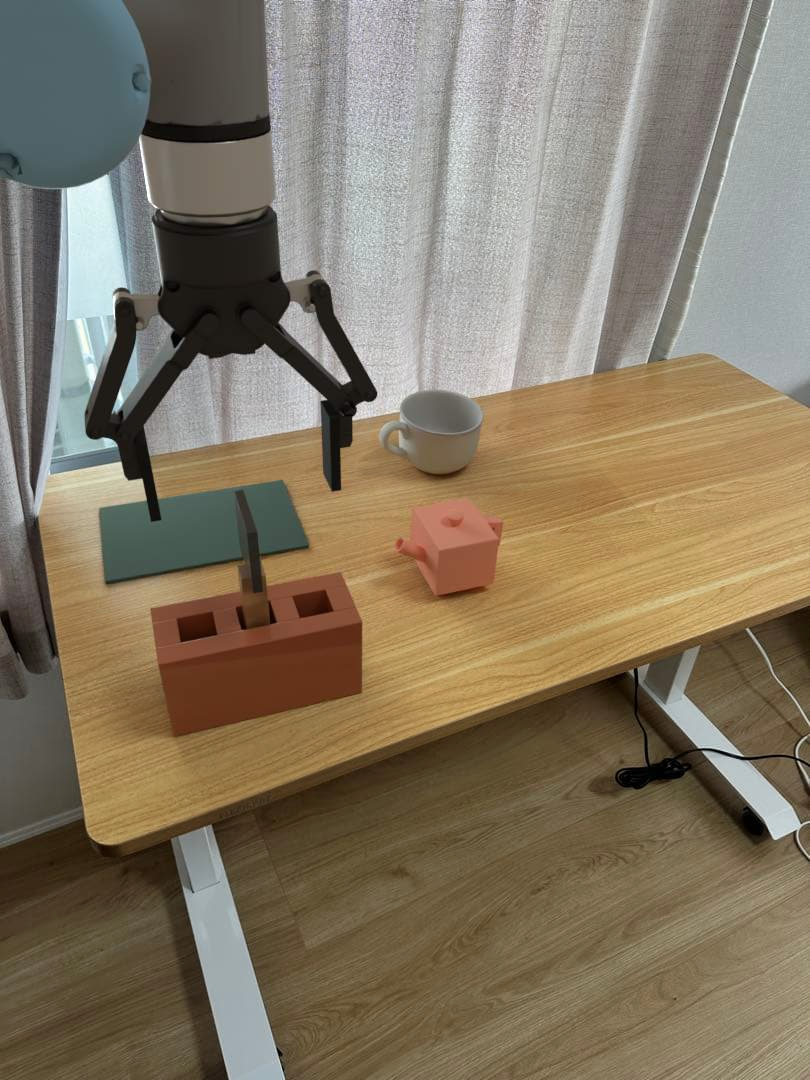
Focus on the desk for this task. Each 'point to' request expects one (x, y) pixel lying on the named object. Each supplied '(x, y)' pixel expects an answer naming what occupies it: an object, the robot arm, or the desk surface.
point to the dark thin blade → (250, 568)
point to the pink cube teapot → (453, 545)
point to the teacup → (436, 431)
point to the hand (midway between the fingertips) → (246, 496)
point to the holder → (258, 653)
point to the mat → (195, 531)
